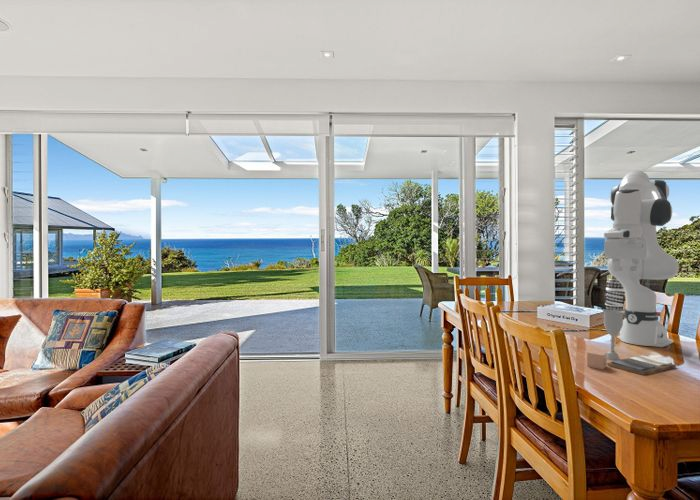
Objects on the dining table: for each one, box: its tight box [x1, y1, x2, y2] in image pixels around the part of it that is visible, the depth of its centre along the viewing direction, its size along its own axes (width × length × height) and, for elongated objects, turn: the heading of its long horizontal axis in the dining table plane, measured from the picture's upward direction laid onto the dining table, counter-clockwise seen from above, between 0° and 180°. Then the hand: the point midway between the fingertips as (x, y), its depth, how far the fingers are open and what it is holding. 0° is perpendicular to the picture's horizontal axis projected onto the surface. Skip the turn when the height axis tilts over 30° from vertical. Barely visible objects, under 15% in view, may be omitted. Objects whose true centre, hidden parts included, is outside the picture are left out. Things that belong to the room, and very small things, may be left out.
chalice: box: [602, 309, 625, 361], centre depth 162 cm, size 7×7×18 cm
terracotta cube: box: [586, 349, 608, 370], centre depth 151 cm, size 5×5×5 cm
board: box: [607, 355, 676, 376], centre depth 152 cm, size 20×12×2 cm, turn 117°
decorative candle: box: [604, 278, 626, 320], centre depth 218 cm, size 9×9×25 cm
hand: (625, 271), depth 155 cm, fingers open, 8 cm apart
